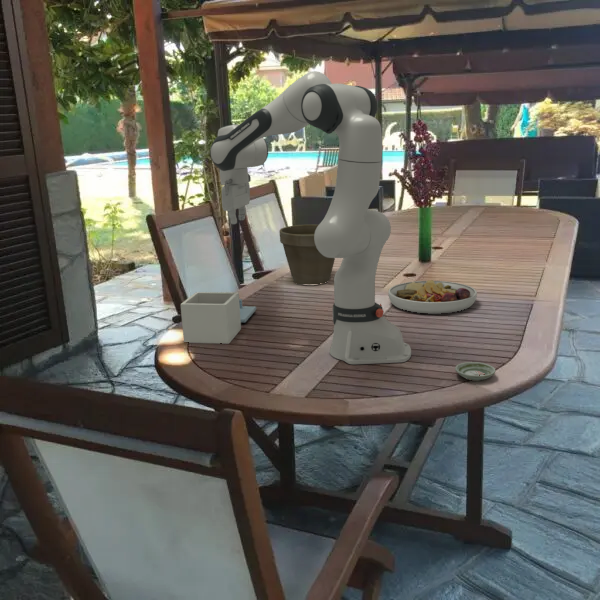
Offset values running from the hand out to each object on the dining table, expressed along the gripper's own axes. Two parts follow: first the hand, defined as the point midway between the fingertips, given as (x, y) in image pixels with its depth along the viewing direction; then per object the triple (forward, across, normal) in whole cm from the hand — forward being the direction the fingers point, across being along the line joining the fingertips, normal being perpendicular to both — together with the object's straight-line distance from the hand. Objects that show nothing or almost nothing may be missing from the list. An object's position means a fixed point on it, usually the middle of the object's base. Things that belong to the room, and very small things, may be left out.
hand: (238, 221), depth 206 cm
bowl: (+34, +22, -61) cm, 73 cm away
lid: (+31, +1, +6) cm, 32 cm away
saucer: (+36, -44, -70) cm, 90 cm away
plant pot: (+32, +52, -14) cm, 63 cm away
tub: (+33, -18, +6) cm, 38 cm away
